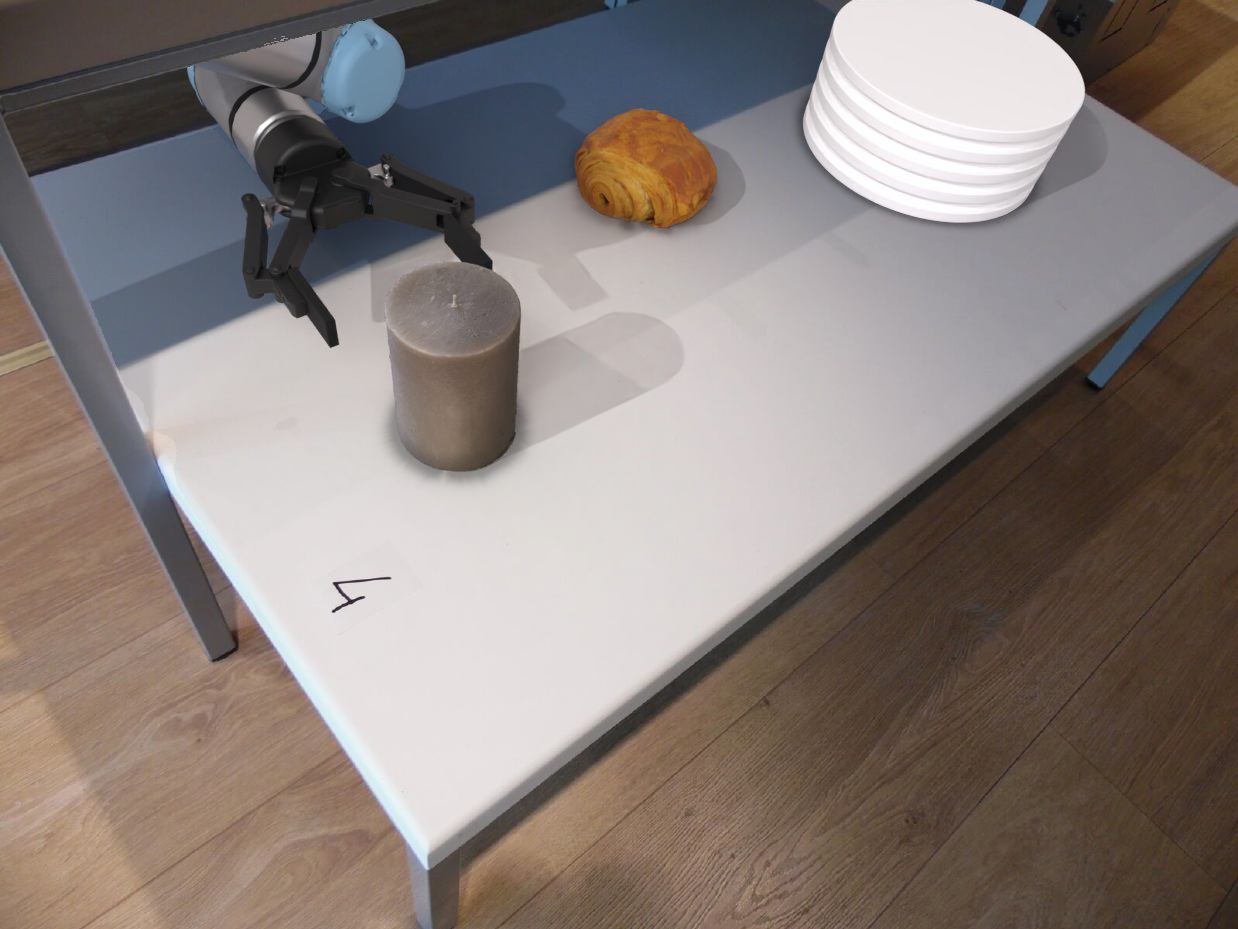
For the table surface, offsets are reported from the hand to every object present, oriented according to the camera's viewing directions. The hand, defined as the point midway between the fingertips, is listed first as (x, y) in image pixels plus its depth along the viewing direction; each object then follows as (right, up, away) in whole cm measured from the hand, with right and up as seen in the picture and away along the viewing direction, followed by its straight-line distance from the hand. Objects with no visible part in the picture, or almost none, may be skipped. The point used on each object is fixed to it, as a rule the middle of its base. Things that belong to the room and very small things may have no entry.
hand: (414, 303), depth 72 cm
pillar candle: (+3, -10, +4) cm, 11 cm away
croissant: (+19, +17, +26) cm, 36 cm away
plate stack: (+52, +25, +37) cm, 69 cm away
